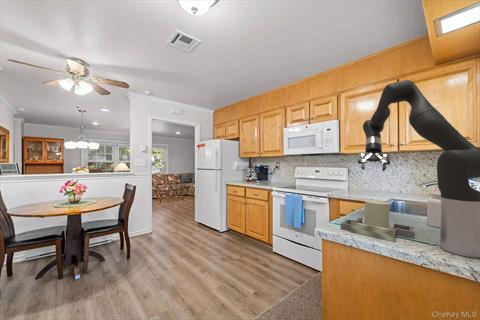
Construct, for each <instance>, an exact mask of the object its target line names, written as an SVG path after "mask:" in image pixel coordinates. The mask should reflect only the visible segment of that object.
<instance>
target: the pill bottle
mask: <svg viewBox="0 0 480 320" xmlns="http://www.w3.org/2000/svg"><path fill="white" fill-rule="evenodd" d="M440 209H441V193H440V192H431V198H428V199H427V208H426V210H427V213H426V225H428V226H431V227H435V228H437V229H440Z"/></svg>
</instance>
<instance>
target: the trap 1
mask: <svg viewBox="0 0 480 320" xmlns="http://www.w3.org/2000/svg"><path fill="white" fill-rule="evenodd" d="M356 220H357V219H355V220H354V219H351V218H350V219H349V218H345V219H344V220H343V221H342V222H340V230H344V231H348V232H350V224H351V222H355V221H356Z"/></svg>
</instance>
